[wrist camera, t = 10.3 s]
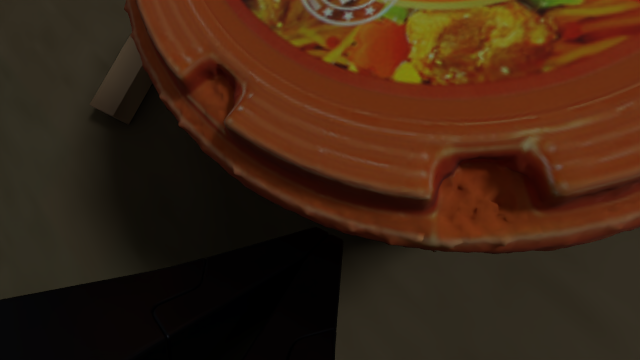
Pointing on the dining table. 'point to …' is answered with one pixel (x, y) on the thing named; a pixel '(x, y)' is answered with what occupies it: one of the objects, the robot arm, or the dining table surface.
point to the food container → (414, 112)
